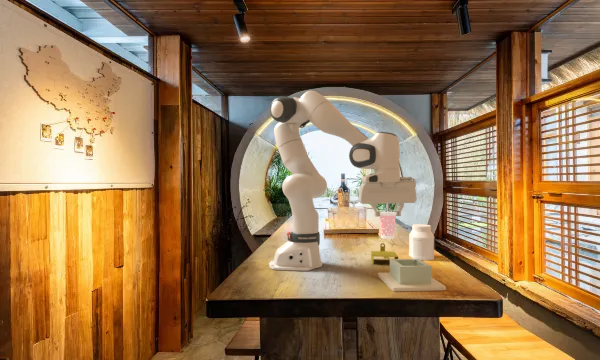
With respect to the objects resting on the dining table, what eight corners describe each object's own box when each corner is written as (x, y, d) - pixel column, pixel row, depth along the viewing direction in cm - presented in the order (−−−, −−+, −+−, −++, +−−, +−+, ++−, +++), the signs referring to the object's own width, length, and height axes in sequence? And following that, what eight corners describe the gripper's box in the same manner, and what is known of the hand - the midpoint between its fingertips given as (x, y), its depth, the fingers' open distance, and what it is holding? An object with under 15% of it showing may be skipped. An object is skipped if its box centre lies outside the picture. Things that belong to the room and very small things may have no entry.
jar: (407, 254, 174) (407, 223, 174) (427, 254, 174) (427, 223, 174) (414, 260, 162) (414, 227, 162) (436, 260, 162) (436, 227, 162)
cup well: (393, 291, 120) (393, 269, 120) (377, 275, 138) (377, 257, 138) (445, 290, 121) (446, 268, 121) (423, 274, 139) (423, 256, 139)
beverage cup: (377, 236, 132) (377, 198, 132) (394, 236, 131) (394, 198, 132) (380, 239, 126) (380, 198, 126) (398, 239, 125) (398, 198, 125)
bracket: (368, 249, 151) (365, 242, 166) (368, 268, 151) (365, 259, 166) (406, 250, 149) (400, 243, 164) (406, 269, 150) (399, 260, 165)
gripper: (412, 176, 132) (412, 214, 133) (357, 177, 131) (357, 215, 131) (419, 176, 126) (419, 216, 126) (361, 177, 125) (361, 217, 125)
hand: (387, 216), depth 129 cm, fingers closed on beverage cup, 6 cm apart
